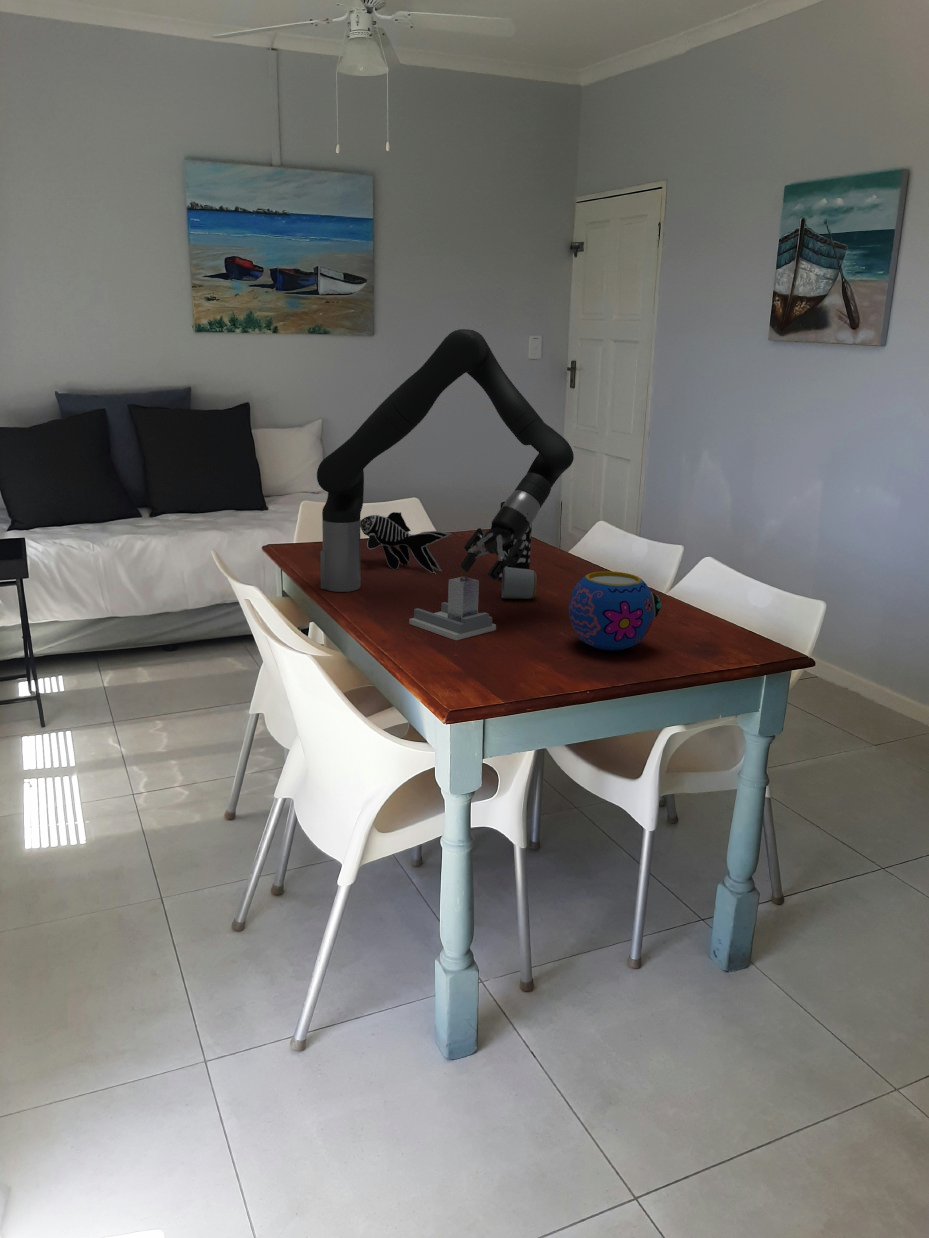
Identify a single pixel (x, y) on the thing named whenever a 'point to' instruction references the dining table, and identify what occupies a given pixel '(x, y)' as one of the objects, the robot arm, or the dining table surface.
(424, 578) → the dining table surface
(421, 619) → the grey open box
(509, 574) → the ceramic mug
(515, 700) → the dining table surface
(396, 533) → the decorative fish
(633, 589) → the ceramic pot
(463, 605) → the aluminium block
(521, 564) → the spotted tube
